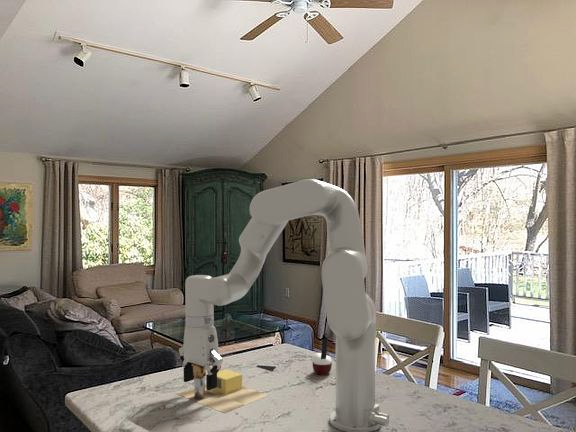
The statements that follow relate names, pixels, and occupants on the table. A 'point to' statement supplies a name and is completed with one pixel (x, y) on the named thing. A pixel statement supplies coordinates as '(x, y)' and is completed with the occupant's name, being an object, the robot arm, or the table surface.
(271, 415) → the table surface
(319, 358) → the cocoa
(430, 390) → the table surface
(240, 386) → the yellow rectangular block
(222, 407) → the subfloor panel
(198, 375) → the two-tone metal cylinder
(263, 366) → the smartphone
